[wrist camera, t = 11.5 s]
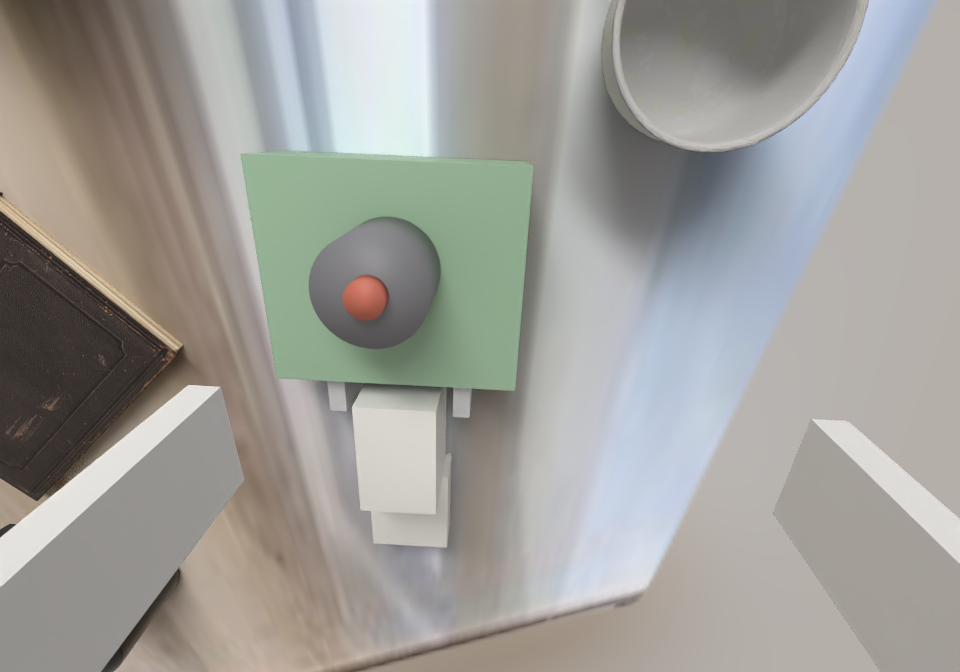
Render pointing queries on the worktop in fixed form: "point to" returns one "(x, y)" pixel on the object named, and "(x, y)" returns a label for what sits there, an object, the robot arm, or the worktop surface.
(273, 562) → the worktop surface
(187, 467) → the robot arm
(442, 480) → the stepped white pillar
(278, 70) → the worktop surface
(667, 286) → the worktop surface
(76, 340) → the hardcover book
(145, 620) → the supplement bottle
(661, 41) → the teacup
